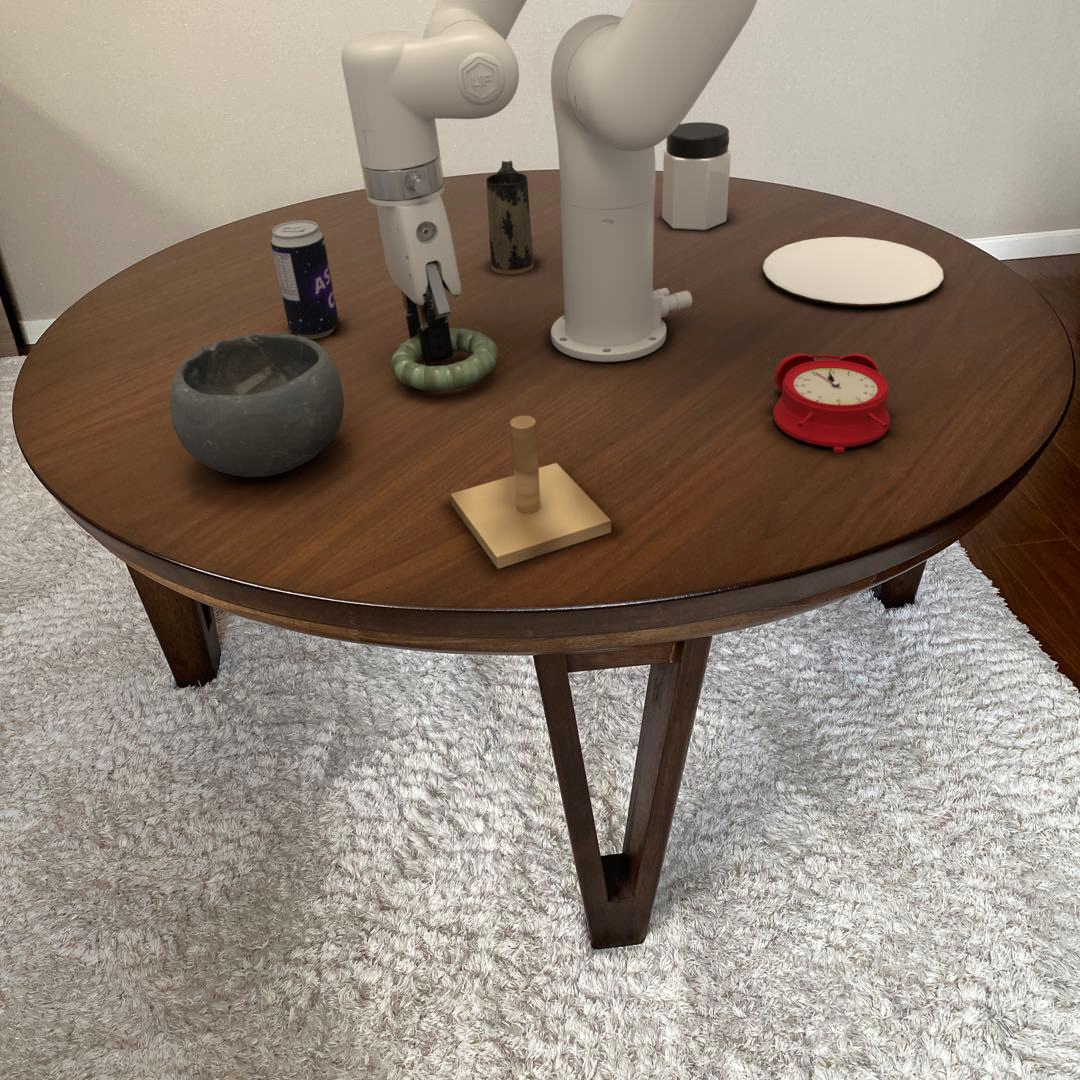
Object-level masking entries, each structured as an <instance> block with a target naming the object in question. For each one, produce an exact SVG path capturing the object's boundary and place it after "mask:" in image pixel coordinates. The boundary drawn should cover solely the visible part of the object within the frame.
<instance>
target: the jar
mask: <svg viewBox="0 0 1080 1080" xmlns="http://www.w3.org/2000/svg"><path fill="white" fill-rule="evenodd" d="M729 135H730V129H729V128H728V127H727V126H725V125H723V124H719V123H716V122H715V123H714V122H705V121H700V122H699V121H698V122H684V123H680V124H679V126H678V127H677V128H676V129H675V130H674V131H673V132H672V133H671V134H670V135H669V136H668V137H667V138H666V147H665V148H664V150H663V159H662V161H663V163H662V165H663V166H662V200H661V201H662V203H661V207H662V209H661V211H662V212H661V218H662V219H663V220H664V222H665V223H667V224H668V225H669V226H670V227H671V228H672V229H674V230H689V231H708V230H709V229H712V228H715V227H717V226H719V225H721V224H725V223H726V222H727V218H728V204H729V203H728V201H729V188H730V187H729V186H730V172H731V156H732V155H731V154H732V153H731V151H730V150H729V144H730V136H729Z"/></svg>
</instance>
